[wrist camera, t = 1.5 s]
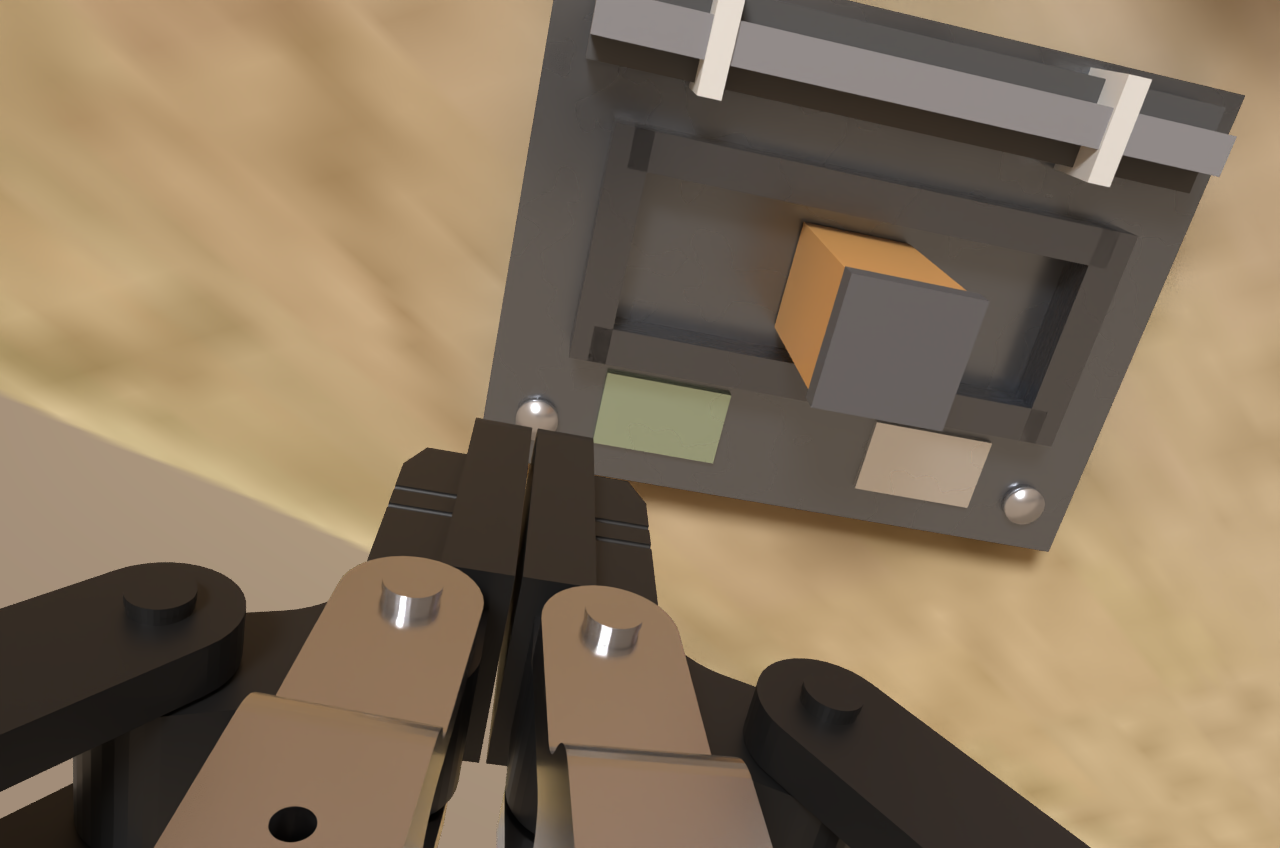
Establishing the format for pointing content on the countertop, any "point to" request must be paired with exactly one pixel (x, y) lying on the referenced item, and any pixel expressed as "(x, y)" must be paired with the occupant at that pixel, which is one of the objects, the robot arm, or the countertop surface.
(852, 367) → the lever
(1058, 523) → the breaker panel
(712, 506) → the countertop surface
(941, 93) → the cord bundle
